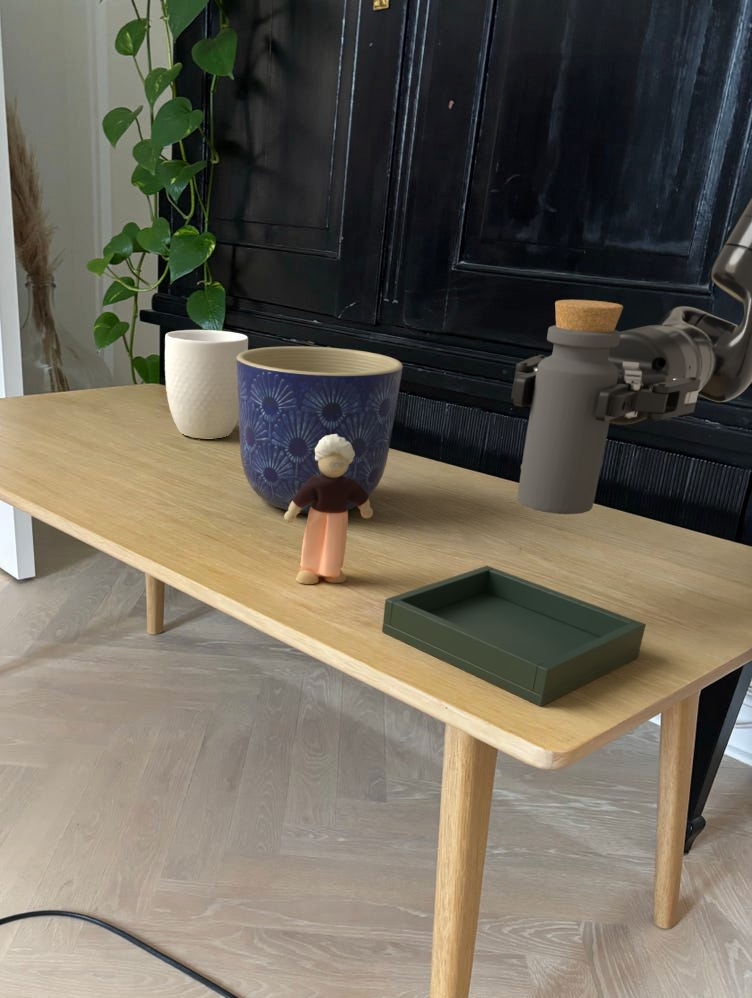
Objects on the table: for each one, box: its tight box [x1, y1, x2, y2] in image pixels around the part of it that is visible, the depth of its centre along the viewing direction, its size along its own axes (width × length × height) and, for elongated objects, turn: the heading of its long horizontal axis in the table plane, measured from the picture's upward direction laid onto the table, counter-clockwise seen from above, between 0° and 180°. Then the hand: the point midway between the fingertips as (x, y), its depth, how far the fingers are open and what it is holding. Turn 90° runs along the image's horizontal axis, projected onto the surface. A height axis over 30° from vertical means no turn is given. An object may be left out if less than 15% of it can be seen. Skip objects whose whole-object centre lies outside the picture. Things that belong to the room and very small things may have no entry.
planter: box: [236, 345, 404, 515], centre depth 99 cm, size 17×17×15 cm
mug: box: [164, 329, 249, 438], centre depth 128 cm, size 15×11×13 cm
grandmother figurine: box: [283, 434, 374, 585], centre depth 80 cm, size 8×4×13 cm, turn 114°
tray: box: [381, 565, 647, 707], centre depth 71 cm, size 15×13×3 cm
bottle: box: [517, 299, 624, 515], centre depth 71 cm, size 6×6×15 cm
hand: (560, 399), depth 69 cm, fingers closed on bottle, 6 cm apart
